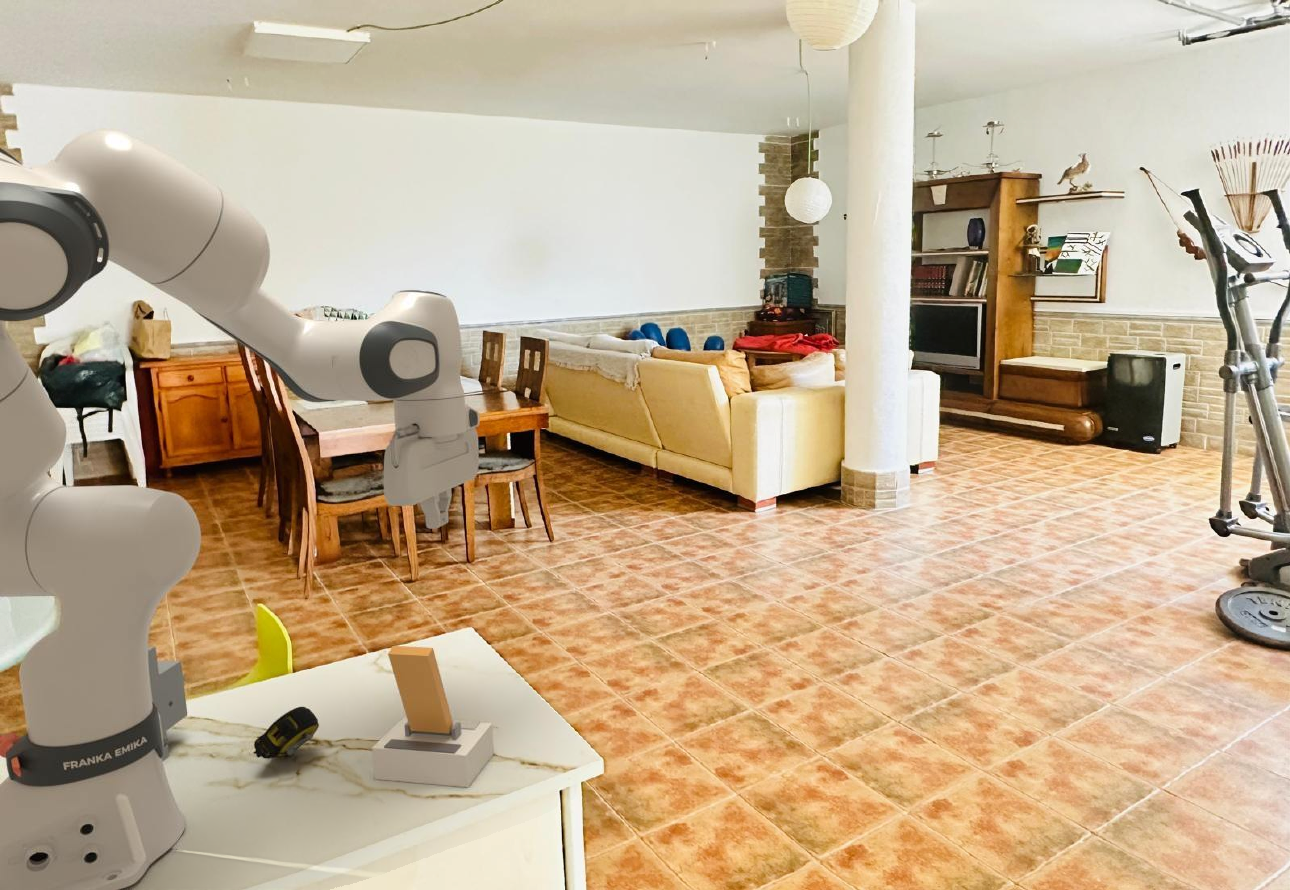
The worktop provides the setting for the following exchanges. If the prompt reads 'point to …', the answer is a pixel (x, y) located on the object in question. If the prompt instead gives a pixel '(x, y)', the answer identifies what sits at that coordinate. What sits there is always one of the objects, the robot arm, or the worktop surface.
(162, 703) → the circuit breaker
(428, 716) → the lever
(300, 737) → the tape measure
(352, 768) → the worktop surface
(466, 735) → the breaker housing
